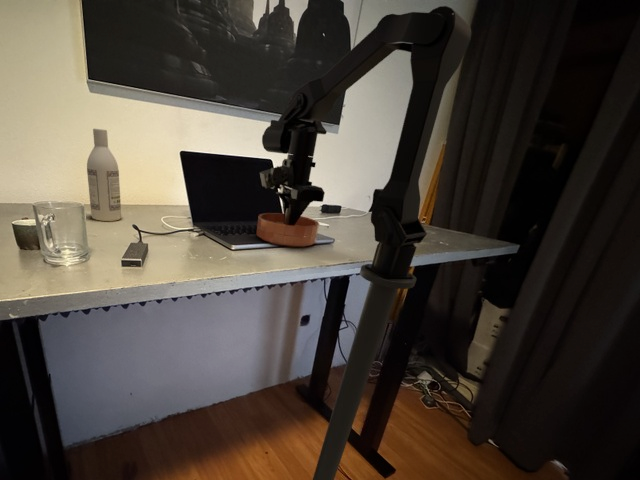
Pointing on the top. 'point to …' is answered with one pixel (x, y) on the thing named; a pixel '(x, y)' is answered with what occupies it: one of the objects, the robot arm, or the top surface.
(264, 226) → the bowl
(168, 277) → the top surface
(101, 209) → the bath foam
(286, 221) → the scrub brush
